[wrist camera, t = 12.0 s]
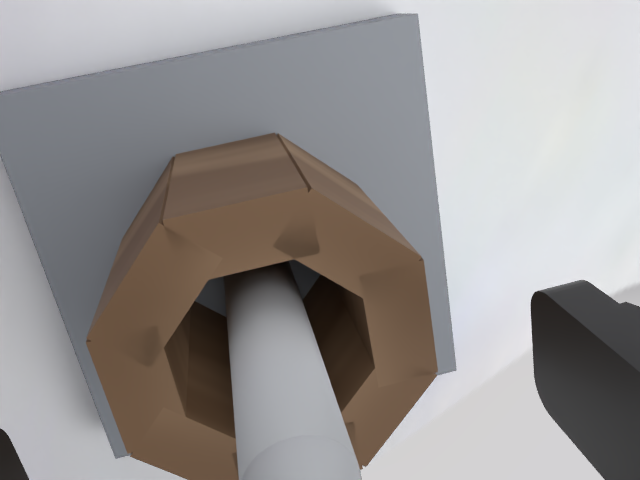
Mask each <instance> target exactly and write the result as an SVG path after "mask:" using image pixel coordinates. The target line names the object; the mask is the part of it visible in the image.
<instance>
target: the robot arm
mask: <svg viewBox="0 0 640 480" xmlns="http://www.w3.org/2000/svg"><path fill="white" fill-rule="evenodd" d="M531 322H532V342H533V361H534V378H535V383H536V387H537V390H538V394H539V396H540V398H541V401H542V403H543V405H544V407H545V409H546V410H547V411H548V413H549V415H550V416H551V417H552V418H553V419H554V420H555V422H556V423H557V424H558V425H559V427H560V428H561V429H562V430H563V431H564V432H565V433H566V435H567V436H568V437H569V438H570V439H571V440H572V442H573V443H574V444H575V445H576V446H577V448H578V449H579V450H580V451H581V452H582V453H583V455H584V456H585V457H586V458H587V459H588V461H589V462H590V463H591V464H592V465H593V466H594V468H596V470H597V471H598V472H599V473H600V474H601V476H602V477H603V478H604V479H605V480H640V307H639V306H636V305H633V304H630V303H627V302H624V303H621V304H619V303H618V302H616V301H615V300H613V299H612V298H611V297H609V296H608V295H606V294H605V293H604V292H602V291H601V290H599V289H598V288H596V287H595V286H594V285H592V284H591V283H589V282H588V281H585V280H579V281H575V282H571V283H567V284H564V285H560V286H556V287H552V288H548V289H544V290H540V291H537V292H535V293H534V294H533V296H532V299H531ZM0 480H29V478H28V476H27V474H26V472H25V470H24V467H23V465H22V463H21V461H20V459H19V457H18V455H17V453H16V450H15V448H14V446H13V444H12V442H11V440H10V438H9V436H8V435H7V434H6V432H5V431H3V430H2V429H0Z"/></svg>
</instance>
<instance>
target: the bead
mask: <svg viewBox="0 0 640 480" xmlns="http://www.w3.org/2000/svg"><path fill="white" fill-rule="evenodd" d="M293 259H295V260H297V261H299V262H300V263H302V264H304V265H306V266H307V267H309V268H311V269H313V270H314V271H316V272H318V273H320V274H321V275H320V276H319V278H318V279H317V280H316V282H315V283H314V285H313V286H312V288H311V289H310V290H309V292H308V293H307V295H306V296H305V298H304V299H303V300H302V301H303V304H304V307H305V310H306V313H307V316H308V318H309V321H310V324H311V327H312V330H313V333H314V336H315V339H316V342H317V345H318V348H319V351H320V353H321V356H322V359H323V362H324V365H325V368H326V371H327V374H328V377H329V380H330V383H331V386H332V389H333V391H334V394H335V397H336V400H337V403H338V406H339V409H340V412H341V415H342V418H343V421H344V424H345V426H346V429H347V432H348V435H349V438H350V441H351V444H352V447H353V450H354V453H355V456H356V459H357V461H358V464H359V468H360V470H361V469H363V468H362V465H363V466H365V467H366V466H367V465H368V464H369V462H370V461H371V460H372V458H373V457H374V456H375V455H376V453H377V452H378V451H379V449H380V448H381V447H382V446H383V444H384V443H385V442H386V440H387V439H388V438H389V437H390V435H391V434H392V433H393V431H394V430H395V429H396V428H397V426H398V425H399V424H400V423H401V421H402V420H403V419H404V417H405V416H406V415H407V414H408V412H409V411H410V410H411V408H412V407H413V406H414V405H415V403H416V402H417V401H418V399H419V398H420V397H421V396H422V394H423V393H424V392H425V390H426V389H427V388H428V387H429V385H430V384H431V383H432V381H433V380H434V379H435V378H436V376H437V374H436V372H438V366H437V358H436V351H435V343H434V335H433V327H432V319H431V312H430V304H429V296H428V288H427V281H426V273H425V265H424V260H423V259H422V256H421V255H420V254H419V253H418V252H417V251H416V250H415V249H414V248H413V246H412V245H411V244H410V243H409V242H408V241H407V240H406V239H405V237H404V236H403V235H402V234H401V233H400V232H399V231H398V230H397V229H396V227H395V226H394V225H393V224H392V223H391V222H390V221H389V220H388V218H387V217H386V216H385V215H384V214H383V213H382V212H381V211H380V209H379V208H378V207H377V206H376V205H375V204H374V203H373V202H372V201H371V199H370V198H369V197H368V196H367V195H366V194H365V193H364V192H363V190H362V189H361V188H360V187H359V186H358V185H357V184H356V183H354V182H353V181H351V180H350V179H348V178H346V177H345V176H343V175H342V174H340V173H339V172H337V171H336V170H334V169H333V168H331V167H329V166H328V165H326V164H325V163H323V162H322V161H320V160H319V159H317V158H316V157H314V156H313V155H311V154H309V153H308V152H306V151H305V150H303V149H302V148H300V147H299V146H297V145H296V144H294V143H292V142H291V141H289V140H288V139H286V138H285V137H283V136H282V135H280V134H279V133H278V134H277V135H276V134H275V133H271V134H266V135H261V136H257V137H252V138H248V139H243V140H238V141H234V142H229V143H225V144H220V145H215V146H211V147H206V148H202V149H197V150H192V151H188V152H183V153H179V154H176V155H175V157H174V156H173V157H172V158H171V160H170V162H169V163H168V165H167V166H166V168H165V170H164V171H163V173H162V175H161V176H160V178H159V179H158V181H157V183H156V184H155V186H154V188H153V189H152V191H151V192H150V194H149V196H148V197H147V199H146V201H145V202H144V204H143V205H142V207H141V209H140V210H139V212H138V214H137V215H136V217H135V218H134V220H133V222H132V223H131V225H130V227H129V228H128V230H127V231H126V233H125V235H124V236H123V238H122V241H121V243H120V246H119V249H118V252H117V255H116V257H115V260H114V263H113V266H112V268H111V271H110V274H109V277H108V279H107V282H106V285H105V288H104V290H103V293H102V296H101V299H100V302H99V304H98V307H97V310H96V313H95V315H94V318H93V321H92V324H91V326H90V329H89V332H88V335H87V338H86V339H87V340H86V345H87V348H88V350H89V353H90V355H91V358H92V361H93V363H94V366H95V369H96V371H97V374H98V377H99V379H100V382H101V385H102V387H103V390H104V393H105V395H106V398H107V401H108V403H109V406H110V409H111V411H112V414H113V417H114V419H115V422H116V425H117V427H118V430H119V433H120V435H121V438H122V441H123V443H124V446H125V449H126V451H127V454H129V453H131V456H130V457H133V458H135V459H138V460H140V461H143V462H145V463H148V464H150V465H153V466H155V467H158V468H160V469H163V470H165V471H168V472H170V473H173V474H175V475H178V476H180V477H183V478H185V479H188V480H239V475H238V461H237V448H236V435H235V421H234V408H233V395H232V381H231V368H230V355H229V341H228V328H227V317H225V316H223V315H221V314H219V313H217V312H215V311H213V310H211V309H209V308H207V307H205V306H203V305H202V304H200V303H198V302H196V301H195V300H196V298H197V297H198V295H199V294H200V292H201V291H202V289H203V288H204V286H205V284H206V283H207V281H208V280H209V279H214V278H218V277H222V276H226V275H230V274H235V273H239V272H243V271H247V270H251V269H256V268H260V267H264V266H268V265H272V264H276V263H281V262H285V261H289V260H293Z"/></svg>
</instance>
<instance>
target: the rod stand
mask: <svg viewBox="0 0 640 480" xmlns="http://www.w3.org/2000/svg"><path fill="white" fill-rule="evenodd" d="M271 133H275V134H276V135H277V134H278V133H279V134H280V135H282V136H283V137H285V138H286V139H288V140H289V141H291V142H292V143H294V144H296V145H297V146H299V147H300V148H302V149H303V150H305V151H306V152H308V153H309V154H311V155H313V156H314V157H316V158H317V159H319V160H320V161H322V162H323V163H325V164H326V165H328V166H329V167H331V168H333V169H334V170H336V171H337V172H339V173H340V174H342V175H343V176H345V177H346V178H348V179H350V180H351V181H353V182H354V183H356V184H357V185H358V186H359V187H360V188H361V189H362V190H363V192H364V193H365V194H366V195H367V196H368V197H369V198H370V199H371V201H372V202H373V203H374V204H375V205H376V206H377V207H378V208H379V209H380V211H381V212H382V213H383V214H384V215H385V216H386V217H387V218H388V220H389V221H390V222H391V223H392V224H393V225H394V226H395V227H396V229H397V230H398V231H399V232H400V233H401V234H402V235H403V236H404V237H405V239H406V240H407V241H408V242H409V243H410V244H411V245H412V246H413V248H414V249H415V250H416V251H417V252H418V253H419V254H420V255H421V256H422V259H423V260H424V265H425V273H426V281H427V288H428V296H429V304H430V312H431V319H432V327H433V335H434V343H435V351H436V358H437V366H438V372H436V374H437V375H440V374H444V373H448V372H452V371H456V361H455V352H454V343H453V333H452V324H451V315H450V306H449V297H448V287H447V278H446V269H445V260H444V251H443V241H442V232H441V223H440V214H439V204H438V195H437V186H436V177H435V168H434V158H433V149H432V140H431V131H430V121H429V112H428V103H427V94H426V85H425V75H424V66H423V57H422V48H421V38H420V29H419V20H418V14H395V15H390V16H385V17H379V18H374V19H369V20H364V21H359V22H354V23H349V24H344V25H339V26H333V27H328V28H323V29H318V30H313V31H308V32H303V33H298V34H293V35H287V36H282V37H277V38H272V39H267V40H262V41H257V42H252V43H247V44H241V45H236V46H231V47H226V48H221V49H216V50H211V51H206V52H201V53H195V54H190V55H185V56H180V57H175V58H170V59H165V60H160V61H155V62H149V63H144V64H139V65H134V66H129V67H124V68H119V69H114V70H109V71H103V72H98V73H93V74H88V75H83V76H78V77H73V78H68V79H63V80H57V81H52V82H47V83H42V84H37V85H32V86H27V87H22V88H17V89H12V90H6V91H1V92H0V155H1V157H2V160H3V163H4V165H5V168H6V171H7V173H8V176H9V179H10V181H11V184H12V186H13V189H14V192H15V194H16V197H17V200H18V202H19V205H20V208H21V210H22V213H23V215H24V218H25V221H26V223H27V226H28V229H29V231H30V234H31V237H32V239H33V242H34V245H35V247H36V250H37V252H38V255H39V258H40V260H41V263H42V266H43V268H44V271H45V274H46V276H47V279H48V281H49V284H50V287H51V289H52V292H53V295H54V297H55V300H56V303H57V305H58V308H59V311H60V313H61V316H62V318H63V321H64V324H65V326H66V329H67V332H68V334H69V337H70V340H71V342H72V345H73V347H74V350H75V353H76V355H77V358H78V361H79V363H80V366H81V369H82V371H83V374H84V376H85V379H86V382H87V384H88V387H89V390H90V392H91V395H92V398H93V400H94V403H95V406H96V408H97V411H98V413H99V416H100V419H101V421H102V424H103V427H104V429H105V432H106V435H107V437H108V440H109V442H110V445H111V448H112V450H113V453H114V456H115V458H120V457H124V456H128V455H131V453H129V454H127V451H126V449H125V446H124V443H123V441H122V438H121V435H120V433H119V430H118V427H117V425H116V422H115V419H114V417H113V414H112V411H111V409H110V406H109V403H108V401H107V398H106V395H105V393H104V390H103V387H102V385H101V382H100V379H99V377H98V374H97V371H96V369H95V366H94V363H93V361H92V358H91V355H90V353H89V350H88V348H87V345H86V340H87V339H86V338H87V335H88V332H89V329H90V326H91V324H92V321H93V318H94V315H95V313H96V310H97V307H98V304H99V302H100V299H101V296H102V293H103V290H104V288H105V285H106V282H107V279H108V277H109V274H110V271H111V268H112V266H113V263H114V260H115V257H116V255H117V252H118V249H119V246H120V243H121V241H122V238H123V236H124V235H125V233H126V231H127V230H128V228H129V227H130V225H131V223H132V222H133V220H134V218H135V217H136V215H137V214H138V212H139V210H140V209H141V207H142V205H143V204H144V202H145V201H146V199H147V197H148V196H149V194H150V192H151V191H152V189H153V188H154V186H155V184H156V183H157V181H158V179H159V178H160V176H161V175H162V173H163V171H164V170H165V168H166V166H167V165H168V163H169V162H170V160H171V158H172V157H173V156H174V157H175V155H176V154H179V153H183V152H188V151H192V150H197V149H202V148H206V147H211V146H215V145H220V144H225V143H229V142H234V141H238V140H243V139H248V138H252V137H257V136H261V135H266V134H271ZM320 275H321V274H320V273H318V272H316V271H314V270H313V269H311V268H309V267H307V266H306V265H304V264H302V263H300V262H299V261H297V260H295V259H293V260H289V261H285V262H281V263H276V264H272V265H268V266H264V267H260V268H256V269H251V270H247V271H243V272H239V273H235V274H230V275H226V276H222V277H218V278H214V279H209V280H208V281H207V283H206V284H205V286H204V288H203V289H202V291H201V292H200V294H199V295H198V297H197V298H196V300H195V301H196V302H198V303H200V304H202V305H203V306H205V307H207V308H209V309H211V310H213V311H215V312H217V313H219V314H221V315H223V316H225V317H227V328H228V341H229V355H230V368H231V381H232V395H233V408H234V421H235V435H236V448H237V461H238V475H239V480H362V478H361V472H360V468H359V464H358V461H357V459H356V456H355V453H354V450H353V447H352V444H351V441H350V438H349V435H348V432H347V429H346V426H345V424H344V421H343V418H342V415H341V412H340V409H339V406H338V403H337V400H336V397H335V394H334V391H333V389H332V386H331V383H330V380H329V377H328V374H327V371H326V368H325V365H324V362H323V359H322V356H321V353H320V351H319V348H318V345H317V342H316V339H315V336H314V333H313V330H312V327H311V324H310V321H309V318H308V316H307V313H306V310H305V307H304V304H303V301H302V300H303V299H304V298H305V296H306V295H307V293H308V292H309V290H310V289H311V288H312V286H313V285H314V283H315V282H316V280H317V279H318V278H319V276H320Z"/></svg>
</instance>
